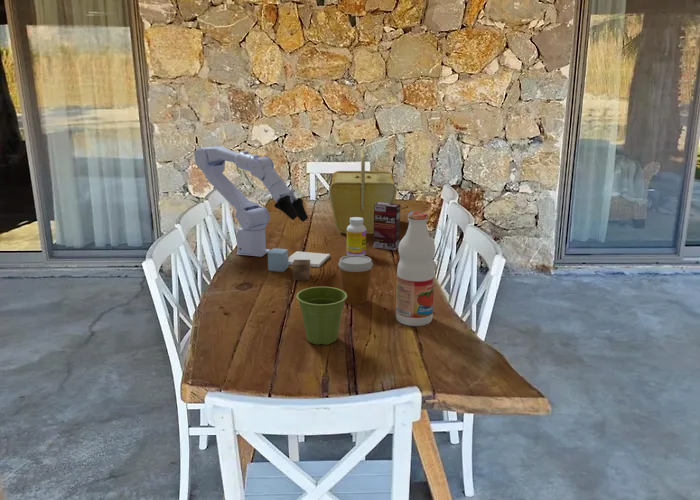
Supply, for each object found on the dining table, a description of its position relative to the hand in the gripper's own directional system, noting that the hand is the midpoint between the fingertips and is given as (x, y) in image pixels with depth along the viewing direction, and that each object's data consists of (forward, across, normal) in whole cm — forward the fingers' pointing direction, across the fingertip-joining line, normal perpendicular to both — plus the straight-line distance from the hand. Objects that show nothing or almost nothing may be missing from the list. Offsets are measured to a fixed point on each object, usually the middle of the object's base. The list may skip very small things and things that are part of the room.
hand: (300, 218), depth 202 cm
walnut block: (+17, -7, +9) cm, 20 cm away
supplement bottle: (+16, +21, -2) cm, 27 cm away
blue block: (+8, -2, +15) cm, 18 cm away
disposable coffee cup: (+36, -18, -4) cm, 40 cm away
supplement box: (+18, +34, -9) cm, 39 cm away
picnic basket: (-1, +58, -1) cm, 58 cm away
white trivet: (+9, +9, +10) cm, 16 cm away
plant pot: (+42, -44, 0) cm, 61 cm away
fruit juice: (+50, -25, -16) cm, 59 cm away
